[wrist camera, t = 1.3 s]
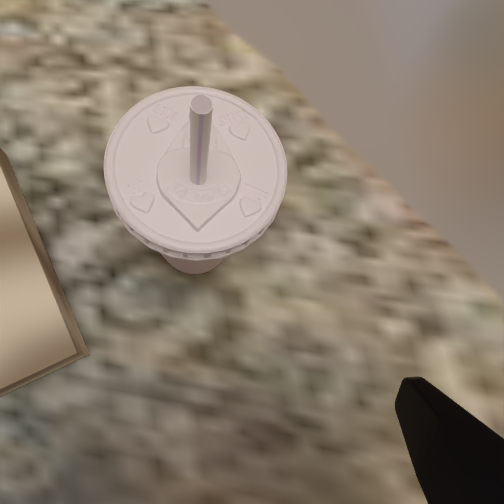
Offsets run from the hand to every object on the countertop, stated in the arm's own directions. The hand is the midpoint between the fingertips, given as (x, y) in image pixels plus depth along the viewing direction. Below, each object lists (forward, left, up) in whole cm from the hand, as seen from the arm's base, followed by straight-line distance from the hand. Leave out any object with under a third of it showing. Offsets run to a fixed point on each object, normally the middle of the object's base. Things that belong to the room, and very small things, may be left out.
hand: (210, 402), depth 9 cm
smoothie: (+7, +1, -13) cm, 15 cm away
